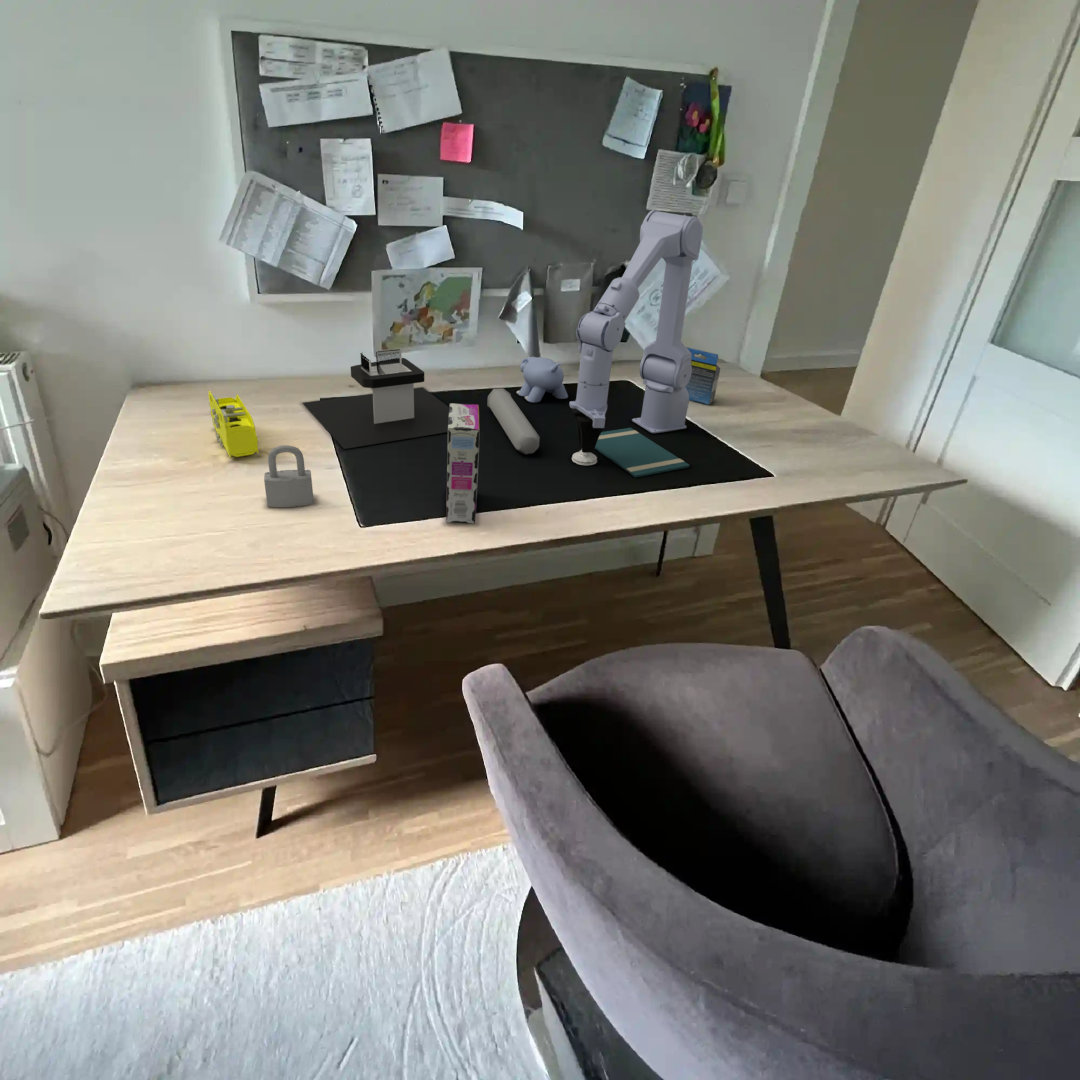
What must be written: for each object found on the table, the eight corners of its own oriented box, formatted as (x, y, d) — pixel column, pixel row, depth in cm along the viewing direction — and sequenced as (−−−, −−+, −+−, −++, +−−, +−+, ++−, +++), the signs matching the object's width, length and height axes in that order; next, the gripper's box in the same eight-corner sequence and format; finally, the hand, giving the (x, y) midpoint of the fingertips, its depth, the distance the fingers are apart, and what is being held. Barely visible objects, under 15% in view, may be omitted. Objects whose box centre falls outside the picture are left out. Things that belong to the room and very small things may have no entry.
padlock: (313, 494, 121) (307, 439, 116) (314, 506, 118) (308, 449, 113) (268, 498, 119) (260, 441, 114) (267, 509, 116) (259, 452, 110)
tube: (547, 437, 139) (514, 391, 159) (523, 430, 137) (492, 385, 157) (537, 462, 141) (505, 413, 161) (512, 455, 139) (483, 407, 159)
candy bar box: (477, 525, 116) (480, 429, 108) (445, 524, 116) (446, 428, 107) (476, 493, 126) (479, 403, 117) (447, 492, 125) (448, 401, 117)
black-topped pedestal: (422, 387, 169) (421, 330, 162) (475, 427, 151) (477, 365, 144) (302, 403, 156) (296, 341, 149) (344, 449, 137) (339, 381, 130)
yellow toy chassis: (211, 429, 141) (204, 387, 136) (242, 425, 143) (236, 384, 139) (227, 462, 129) (220, 417, 125) (261, 457, 132) (255, 413, 127)
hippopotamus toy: (543, 381, 180) (546, 343, 175) (575, 401, 169) (579, 361, 164) (504, 385, 175) (506, 346, 170) (535, 407, 164) (537, 365, 159)
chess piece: (579, 467, 138) (585, 417, 133) (567, 456, 142) (572, 408, 137) (601, 463, 140) (608, 414, 135) (588, 453, 144) (594, 405, 139)
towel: (630, 429, 156) (630, 427, 156) (689, 467, 142) (689, 464, 141) (579, 437, 150) (579, 435, 150) (635, 477, 136) (635, 475, 136)
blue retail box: (714, 401, 176) (725, 351, 170) (708, 405, 173) (719, 354, 167) (680, 392, 180) (689, 343, 174) (674, 396, 177) (683, 346, 171)
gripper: (565, 367, 138) (558, 433, 145) (580, 394, 126) (573, 465, 133) (600, 368, 139) (593, 434, 146) (619, 394, 127) (610, 465, 134)
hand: (585, 448), depth 140 cm, fingers closed on chess piece, 2 cm apart
